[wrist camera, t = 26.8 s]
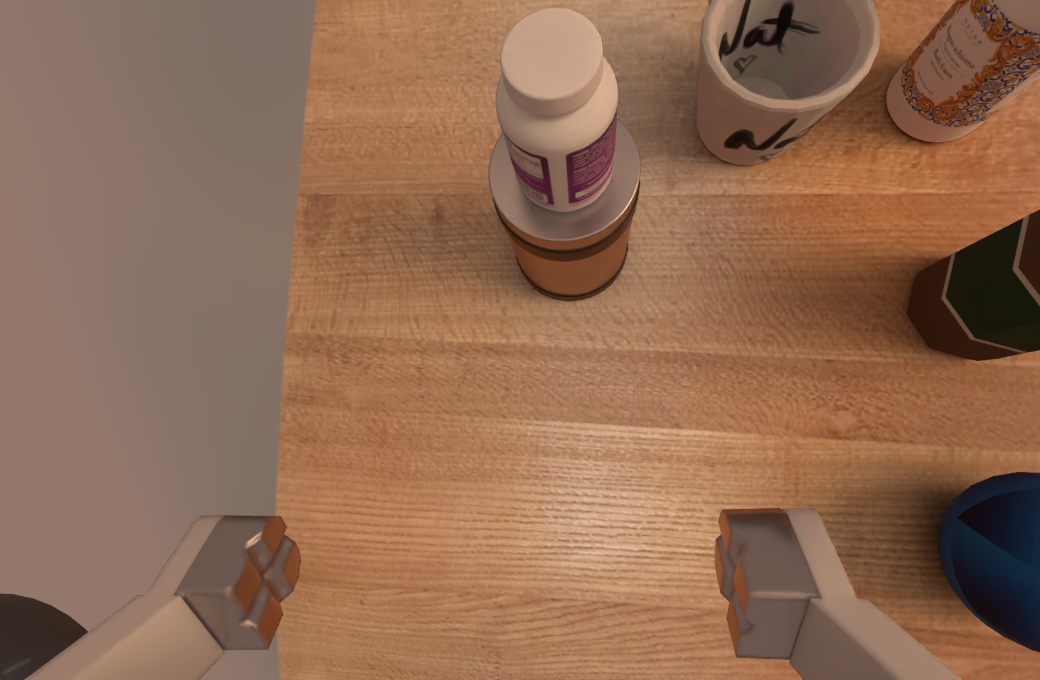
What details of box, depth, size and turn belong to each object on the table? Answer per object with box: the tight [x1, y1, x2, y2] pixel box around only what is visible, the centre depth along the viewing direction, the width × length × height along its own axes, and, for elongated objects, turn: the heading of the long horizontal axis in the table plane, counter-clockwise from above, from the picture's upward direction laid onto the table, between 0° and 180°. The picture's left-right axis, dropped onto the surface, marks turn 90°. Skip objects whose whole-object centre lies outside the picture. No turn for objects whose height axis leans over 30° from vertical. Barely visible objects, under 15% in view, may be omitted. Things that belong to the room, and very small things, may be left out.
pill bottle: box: [496, 8, 618, 212], centre depth 26 cm, size 5×5×10 cm
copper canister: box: [489, 118, 641, 301], centre depth 37 cm, size 9×9×13 cm
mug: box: [696, 0, 880, 166], centre depth 39 cm, size 10×15×10 cm
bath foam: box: [886, 0, 1040, 142], centre depth 32 cm, size 7×7×20 cm
